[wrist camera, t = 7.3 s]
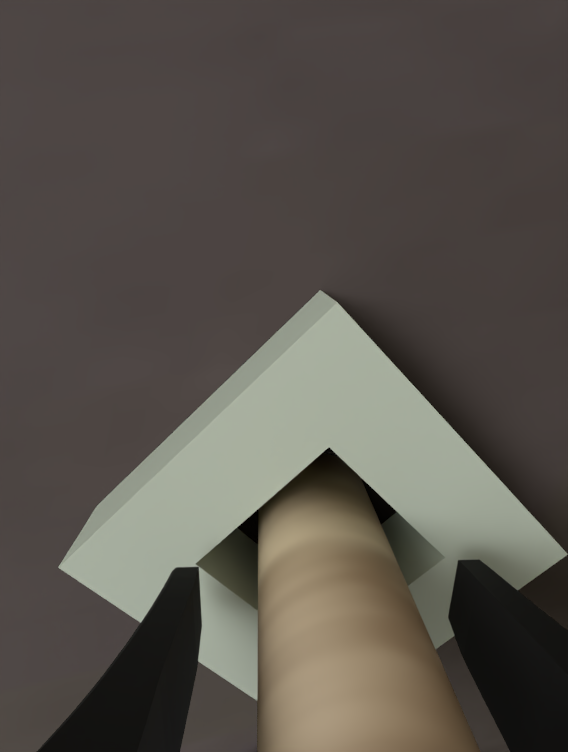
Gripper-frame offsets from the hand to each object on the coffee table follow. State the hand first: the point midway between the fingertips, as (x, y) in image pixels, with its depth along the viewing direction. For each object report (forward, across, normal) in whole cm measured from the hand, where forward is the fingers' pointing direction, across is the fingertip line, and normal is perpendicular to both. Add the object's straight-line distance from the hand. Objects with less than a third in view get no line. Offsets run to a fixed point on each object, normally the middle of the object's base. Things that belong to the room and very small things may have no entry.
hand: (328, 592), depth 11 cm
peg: (+4, 0, 0) cm, 4 cm away
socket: (+4, 0, 0) cm, 4 cm away
